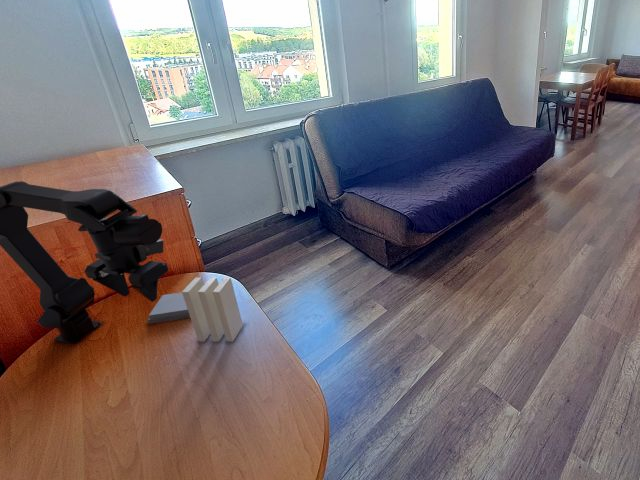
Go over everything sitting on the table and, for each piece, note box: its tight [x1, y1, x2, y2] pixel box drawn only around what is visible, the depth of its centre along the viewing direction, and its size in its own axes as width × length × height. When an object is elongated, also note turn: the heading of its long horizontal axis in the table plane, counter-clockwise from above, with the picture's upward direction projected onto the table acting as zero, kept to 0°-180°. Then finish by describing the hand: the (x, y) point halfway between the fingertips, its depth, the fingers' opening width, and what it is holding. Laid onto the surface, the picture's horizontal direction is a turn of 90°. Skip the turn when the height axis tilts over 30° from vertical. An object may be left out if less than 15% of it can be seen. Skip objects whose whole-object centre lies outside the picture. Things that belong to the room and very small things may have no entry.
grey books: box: [147, 291, 191, 325], centre depth 93 cm, size 11×8×3 cm
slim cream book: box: [181, 276, 211, 342], centre depth 84 cm, size 2×5×16 cm, turn 0°
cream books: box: [198, 276, 244, 342], centre depth 84 cm, size 5×5×16 cm
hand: (140, 297), depth 81 cm, fingers open, 9 cm apart
